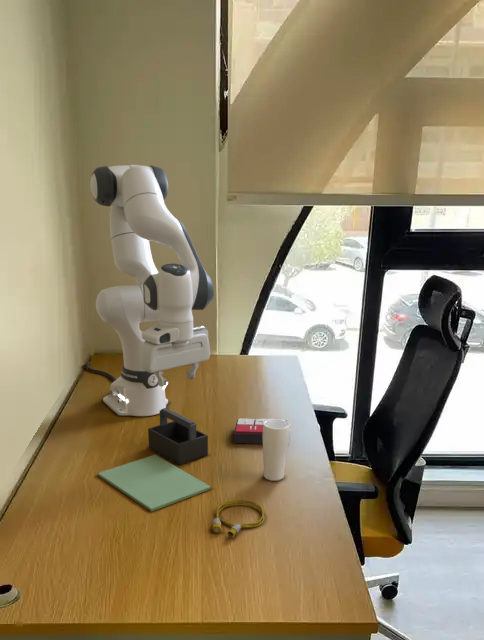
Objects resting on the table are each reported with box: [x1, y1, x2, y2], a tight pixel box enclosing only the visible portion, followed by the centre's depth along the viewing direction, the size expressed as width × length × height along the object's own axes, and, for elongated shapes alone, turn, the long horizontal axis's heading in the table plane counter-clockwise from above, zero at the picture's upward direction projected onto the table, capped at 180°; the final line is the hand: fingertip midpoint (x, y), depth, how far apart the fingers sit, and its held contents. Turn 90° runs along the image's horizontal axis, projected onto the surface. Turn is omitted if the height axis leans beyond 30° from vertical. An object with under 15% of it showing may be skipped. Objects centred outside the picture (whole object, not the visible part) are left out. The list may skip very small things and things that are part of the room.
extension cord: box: [211, 499, 265, 538], centre depth 159 cm, size 12×16×2 cm
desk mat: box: [97, 454, 212, 513], centre depth 174 cm, size 24×18×1 cm
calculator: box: [233, 417, 288, 444], centre depth 201 cm, size 11×4×15 cm
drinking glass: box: [262, 418, 291, 482], centre depth 176 cm, size 7×7×15 cm
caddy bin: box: [147, 407, 209, 466], centre depth 189 cm, size 14×10×11 cm
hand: (177, 382), depth 182 cm, fingers open, 8 cm apart
